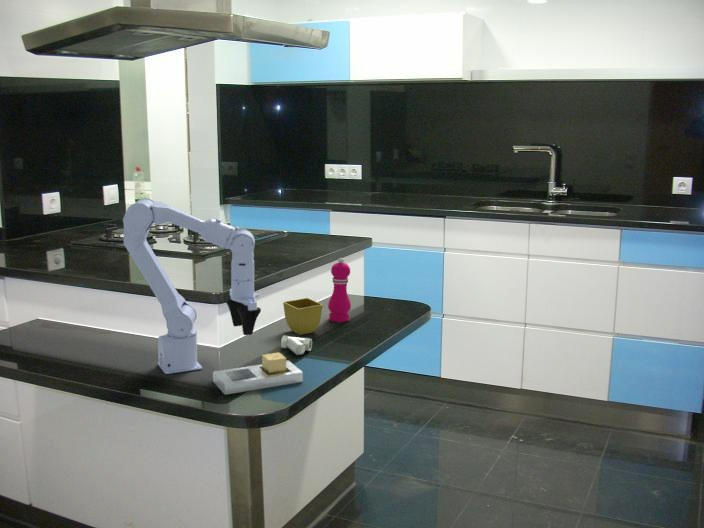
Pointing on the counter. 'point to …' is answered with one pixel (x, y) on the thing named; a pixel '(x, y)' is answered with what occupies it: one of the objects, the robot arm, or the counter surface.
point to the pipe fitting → (296, 344)
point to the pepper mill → (339, 293)
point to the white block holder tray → (254, 378)
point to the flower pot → (302, 315)
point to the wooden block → (273, 363)
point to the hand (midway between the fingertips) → (242, 330)
